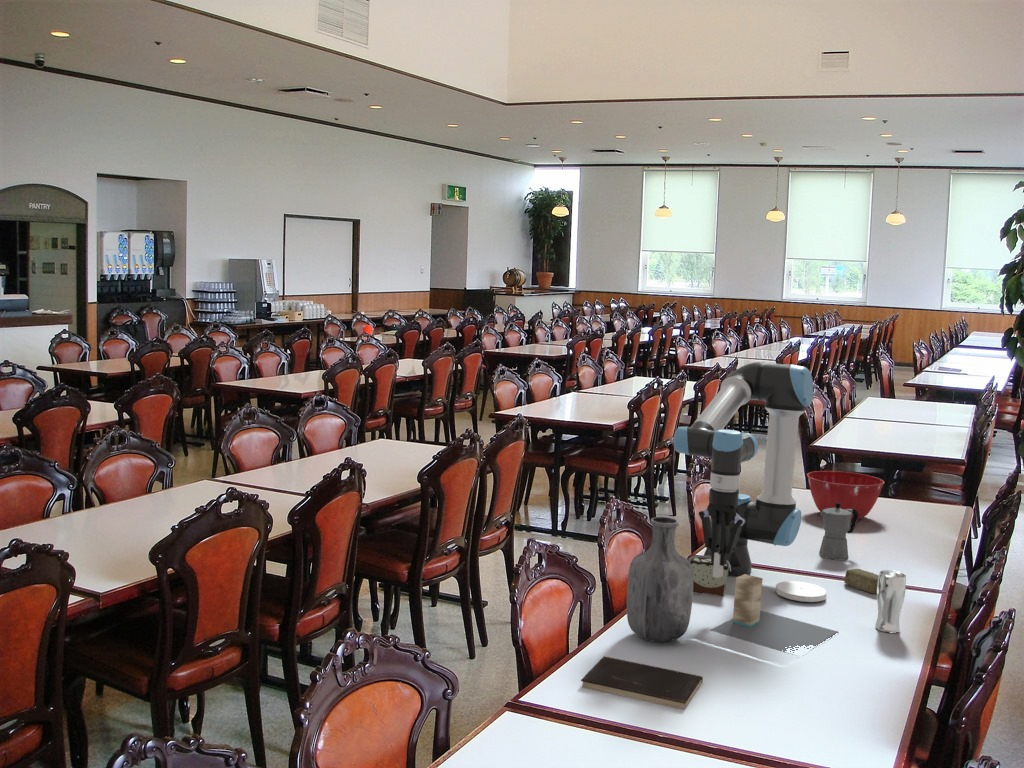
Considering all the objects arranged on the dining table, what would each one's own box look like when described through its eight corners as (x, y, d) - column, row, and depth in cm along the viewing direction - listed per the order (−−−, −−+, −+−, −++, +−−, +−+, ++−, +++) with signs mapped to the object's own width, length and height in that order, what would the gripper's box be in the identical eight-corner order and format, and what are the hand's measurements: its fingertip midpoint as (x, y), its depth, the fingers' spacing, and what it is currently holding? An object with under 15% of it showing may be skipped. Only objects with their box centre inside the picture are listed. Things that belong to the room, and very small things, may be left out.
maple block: (732, 622, 266) (736, 577, 264) (741, 618, 269) (745, 573, 268) (750, 627, 262) (753, 582, 261) (759, 622, 266) (762, 578, 265)
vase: (674, 655, 242) (682, 532, 239) (613, 640, 250) (620, 520, 247) (699, 636, 256) (707, 519, 252) (641, 622, 264) (648, 508, 261)
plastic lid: (765, 591, 296) (766, 583, 295) (804, 587, 301) (804, 579, 301) (796, 607, 283) (797, 598, 283) (836, 603, 289) (837, 594, 288)
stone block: (874, 596, 296) (875, 579, 296) (842, 585, 306) (843, 568, 305) (887, 593, 299) (888, 576, 299) (854, 582, 309) (855, 566, 308)
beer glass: (888, 635, 263) (893, 579, 261) (867, 626, 269) (872, 571, 267) (907, 632, 266) (912, 576, 264) (886, 623, 272) (891, 568, 270)
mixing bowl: (792, 507, 406) (795, 468, 404) (860, 508, 409) (864, 470, 408) (821, 525, 378) (824, 484, 376) (894, 526, 381) (898, 486, 380)
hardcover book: (684, 712, 212) (685, 702, 212) (580, 689, 221) (581, 679, 221) (702, 685, 227) (702, 675, 227) (603, 664, 236) (604, 655, 236)
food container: (733, 593, 292) (735, 559, 291) (728, 599, 286) (731, 564, 285) (691, 585, 297) (693, 552, 296) (685, 591, 291) (687, 557, 290)
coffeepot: (827, 561, 329) (831, 507, 327) (808, 553, 338) (812, 500, 336) (864, 558, 335) (869, 504, 333) (844, 550, 344) (849, 498, 342)
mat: (709, 631, 259) (709, 629, 259) (752, 610, 278) (753, 608, 278) (798, 658, 244) (798, 656, 244) (838, 633, 263) (838, 631, 263)
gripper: (695, 486, 269) (688, 573, 272) (740, 495, 261) (733, 585, 263) (709, 483, 275) (702, 568, 277) (753, 491, 267) (746, 579, 269)
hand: (717, 576), depth 270 cm, fingers closed
